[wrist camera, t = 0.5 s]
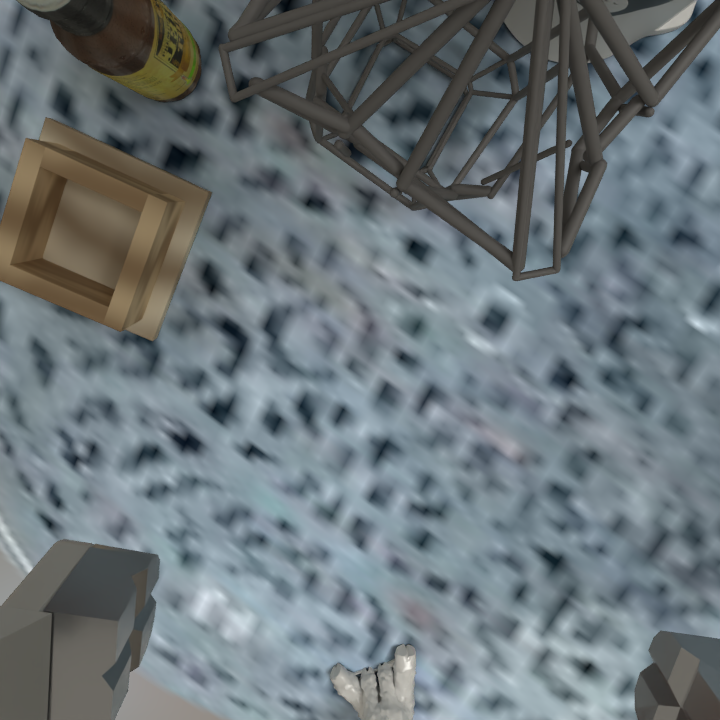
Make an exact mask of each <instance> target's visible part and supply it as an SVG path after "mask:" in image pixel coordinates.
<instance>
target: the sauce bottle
mask: <svg viewBox="0 0 720 720" xmlns="http://www.w3.org/2000/svg"><path fill="white" fill-rule="evenodd" d="M16 1H18V2H19V3H20V4H21V5H22V6H24V7H25V8H26V9H28V10H29V11H31V12H33V13H34V14H36V15H38V16H39V17H42V18H45V19H48V20H50V23H51V26H52V29H53V32H54V33H55V36H56V38H57V39H58V40H59V41H60V42H61V44H62V45H63V46H64V47H65V48H66V50H68V51H69V52H70V53H71V54H72V55H73V56H74V57H76V58H77V59H78V60H80V61H82V62H83V63H85V64H87V65H88V66H89V67H91V68H92V69H94V70H95V71H97V72H99V73H101V74H103V75H105V76H107V77H109V78H111V79H112V80H114V81H116V82H118V83H120V84H122V85H124V86H126V87H128V88H130V89H131V90H133V91H135V92H137V93H139V94H141V95H143V96H145V97H147V98H150V99H154V100H156V101H159V102H169V101H177V100H181V99H183V98H185V97H186V96H187V95H188V94H190V93H191V92H192V91H193V90H194V88H195V87H196V85H197V82H198V80H199V78H200V76H201V56H200V49H199V46H198V44H197V42H196V41H195V40H194V38H193V36H192V34H191V33H190V31H189V30H188V29H187V28H186V26H185V25H184V24H183V23H182V22H181V21H180V20H179V19H178V18H177V17H176V16H175V15H174V14H173V13H172V12H171V11H170V10H169V9H168V8H167V6H166V5H165V4H164V3H163V2H161V1H160V0H16Z"/></svg>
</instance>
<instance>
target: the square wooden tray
mask: <svg viewBox="0 0 720 720" xmlns="http://www.w3.org/2000/svg"><path fill="white" fill-rule="evenodd" d="M211 194H212V192H210V191H208V190H206V189H203V188H201V187H199V186H197V185H195V184H193V183H190V182H188V181H186V180H184V179H182V178H180V177H177V176H175V175H173V174H171V173H169V172H167V171H164V170H162V169H160V168H158V167H156V166H154V165H151V164H149V163H147V162H145V161H143V160H141V159H138V158H136V157H134V156H132V155H130V154H128V153H125V152H123V151H121V150H119V149H117V148H115V147H112V146H110V145H108V144H106V143H104V142H102V141H99V140H97V139H95V138H93V137H91V136H89V135H86V134H84V133H82V132H80V131H78V130H76V129H73V128H71V127H69V126H67V125H65V124H63V123H60V122H58V121H56V120H54V119H51V118H47V117H46V118H45V121H44V125H43V128H42V132H41V135H40V138H39V140H34V139H28V138H26V139H25V142H24V146H23V149H22V153H21V156H20V160H19V163H18V166H17V170H16V173H15V177H14V180H13V183H12V187H11V190H10V194H9V197H8V200H7V204H6V207H5V211H4V214H3V217H2V221H1V224H0V281H2V282H5V283H7V284H9V285H12V286H14V287H16V288H19V289H21V290H23V291H26V292H28V293H30V294H33V295H35V296H38V297H40V298H42V299H45V300H47V301H49V302H52V303H54V304H56V305H59V306H61V307H63V308H66V309H68V310H70V311H73V312H75V313H78V314H80V315H82V316H85V317H87V318H89V319H92V320H94V321H96V322H99V323H101V324H103V325H106V326H108V327H110V328H113V329H115V330H118V331H120V332H121V331H123V330H127V331H130V332H132V333H134V334H137V335H139V336H142V337H144V338H146V339H149V340H151V341H154V340H155V339H156V338H157V337H158V334H159V331H160V329H161V326H162V323H163V321H164V318H165V315H166V313H167V310H168V308H169V305H170V302H171V300H172V297H173V294H174V292H175V289H176V286H177V284H178V281H179V279H180V276H181V273H182V271H183V268H184V265H185V263H186V260H187V257H188V255H189V252H190V250H191V247H192V244H193V242H194V239H195V236H196V234H197V231H198V228H199V226H200V223H201V221H202V218H203V215H204V213H205V210H206V207H207V205H208V202H209V199H210V197H211Z"/></svg>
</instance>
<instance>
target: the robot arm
mask: <svg viewBox="0 0 720 720" xmlns="http://www.w3.org/2000/svg"><path fill="white" fill-rule="evenodd" d="M576 1H577V7H578V11H580V10H581V9H583V7H582V5H581V3H580V2H579V0H576ZM696 1H697V0H603V2H604V3H605V5H606V7H607V8H608V10H609V12H610V13H611V15H612V17H613V19H614V20H615V22H616V24H617V25H618V27H619V29H620V30H621V32H622V34H623V36H624V37H625V39H626V41H627V42H628V44H629V45H631V44H633V43H634V42H636V41H637V40H639V39H641V38H643V37H646V36H651V35H658V34H663V33H668V32H671V31H674V30H676V29H678V28H680V27H681V26H682V25H684V24H685V23H686V22H687V21H688V20H689V19H690V17H691V15H692V12H693V10H694V7H695V4H696ZM535 5H536V0H516V1H515V3H514V4H513V6H512V8H511V10H510V11H509V13H508V15H507V17H506V18H505V20H504V23H505V24H506V26H507V27H508V29H509V30H510V31H511V33H512V34H513V35H514V36H515V37H516V39H517V40H518V41H519V42H520V43H521V44H523V45H524V46H525V45H527V44H529V43H530V42H532V38H533V27H534V16H535ZM558 24H560V17H559V12H558V7H557V2H556V0H555V2H554V11H553V19H552V28H554V27H555V26H557V25H558ZM580 25H581V31H582V37H583V43H584V46H585V39H586V32H587V25H588V19H586V20H584V21H583V22H581V23H580ZM552 28H551V29H552ZM596 49H597V51H598V52H599V54H600V56H601V57H602V59H605V58H608V57H610V56H612V55H613V53H612V52H611V50H610V49H609V47H608V46H607V44H606V42H605V41H604V39H603V38H602V36H601V35H600V33H599V31H598V35H597V41H596ZM548 60H551V61H555V62H558V60H559V36H557V37H555V38H554V39H552V40H550V46H549V55H548ZM588 63H591V62H590V60H589V61H588ZM159 565H160V559H159V557H158V555H157V554H151V553H145V552H139V551H134V550H128V549H122V548H116V547H110V546H105V545H99V544H95V545H94V544H92V543H86V542H79V541H73V540H66V539H63V540H60V541H57V542H56V543H55V544H54V545H53V546H52V547H51V548H50V550H49V551H48V552H47V553H46V554H45V555H44V557H43V558H42V559H41V560H40V561H39V562H38V564H37V565H36V566H35V567H34V568H33V569H32V571H31V572H30V573H29V574H28V575H27V576H26V578H25V579H24V580H23V581H22V582H21V584H20V585H19V586H18V587H17V588H16V589H15V590H14V592H13V593H12V594H11V595H10V596H9V598H8V599H7V600H6V601H5V602H4V603H3V605H2V606H0V720H115V718H116V715H117V713H118V711H119V709H120V707H121V704H122V703H123V700H124V698H125V696H126V694H127V692H128V685H129V674H130V672H131V671H133V670H135V669H136V668H138V667H139V665H140V663H141V661H142V658H143V656H144V654H145V652H146V648H147V645H148V642H149V639H150V636H151V632H152V628H153V622H154V617H155V609H156V601H155V600H154V598H153V597H152V595H151V593H152V590H153V588H154V586H155V584H156V582H157V580H158V578H159ZM648 651H649V653H650V656H651V658H652V661H653V663H652V664H651V665H650V666H648V667H647V668H646V669H644V670H643V671H642V672H640V675H639V678H638V681H637V684H636V687H635V711H636V714H637V718H638V720H720V639H717V638H710V637H703V636H696V635H689V634H682V633H675V632H668V631H660V632H659V633H658V634H657V635H656V636H655V637H654V638H653V640H652V643H651V645H650V648H649V650H648Z"/></svg>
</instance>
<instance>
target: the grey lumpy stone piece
mask: <svg viewBox="0 0 720 720" xmlns="http://www.w3.org/2000/svg"><path fill="white" fill-rule="evenodd" d="M392 667H393V669H392ZM415 667H416V652H415V649H414V647H413V646H411V645H407V646H405V645H404V644H402V645H400V646H398V647H397V649H396V652H395V659H393V660H391V661H388V662H384V663H383V665H381V664H379V666H378V669H374V670H373V668H372V667H369V669H368V671H367V670H366V667H365V668H364V669H363V670H360V671H356V672H350V671H348V670H347V669H346V668H345V667H344V666H342V665H341V664H339V663H337V666H336V665H335V666H334V667H333V669H332V671H331V673H330V679H331V681H332V682H333V684H334V688H335V689H336V690H337V691H338V694H339V695H341V696H343V697H344V698H345V699H346V700H347V701H348V702H350V703H351V704H352V705H353V707H354V709H355V710H356V711H357V712H358V717H360V719H361V720H412V719H413V715H414V710H413V708H414V705H415V701H414V694H413V692H414V686H415V682H414V676H415V674H416V671H415ZM393 671H394V673H393ZM374 672H377V676H378V681H379V685H377V682H376V679H377V678H376V675H375V673H374ZM360 673H361V678H359V679H358V677H356V676H355V675H357V674H360Z"/></svg>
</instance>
